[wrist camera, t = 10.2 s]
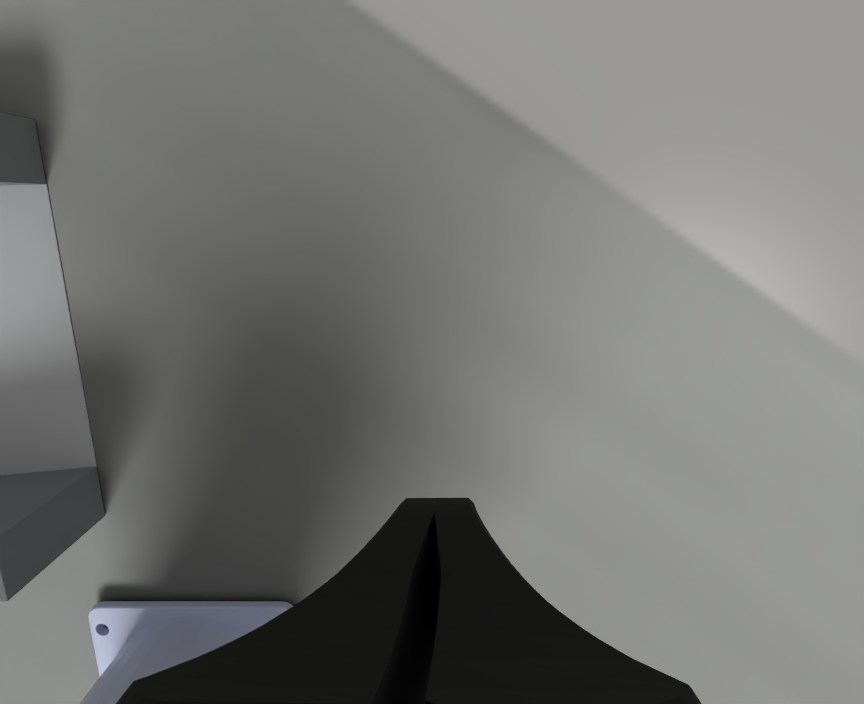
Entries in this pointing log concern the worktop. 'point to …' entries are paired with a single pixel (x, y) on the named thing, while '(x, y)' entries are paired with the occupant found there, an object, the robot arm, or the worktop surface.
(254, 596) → the worktop surface
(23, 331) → the loading dock
